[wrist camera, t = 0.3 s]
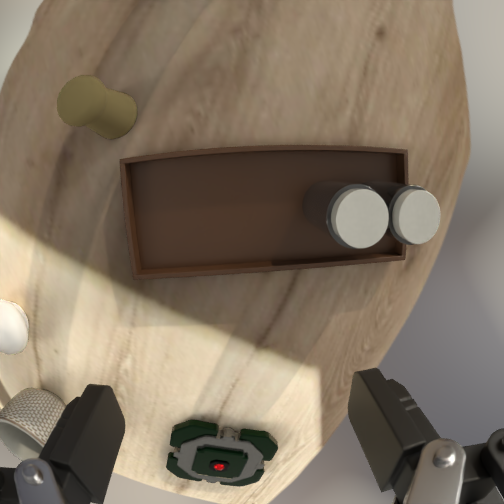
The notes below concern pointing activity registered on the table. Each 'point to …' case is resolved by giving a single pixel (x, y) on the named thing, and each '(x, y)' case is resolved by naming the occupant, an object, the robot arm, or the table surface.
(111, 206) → the table surface
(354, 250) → the tray
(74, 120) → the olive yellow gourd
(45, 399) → the planter
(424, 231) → the black shaker
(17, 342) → the flower vase
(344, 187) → the cylinder
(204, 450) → the flat green button pad
